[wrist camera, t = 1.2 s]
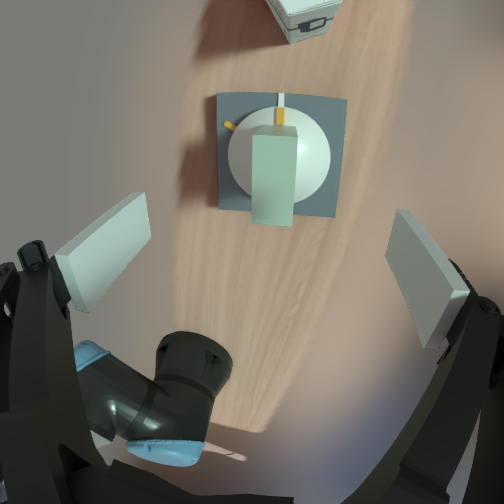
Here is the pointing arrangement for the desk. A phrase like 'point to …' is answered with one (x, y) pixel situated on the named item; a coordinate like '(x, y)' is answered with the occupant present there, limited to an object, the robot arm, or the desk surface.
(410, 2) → the desk surface
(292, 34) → the ink box
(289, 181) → the dial
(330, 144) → the dial plate
